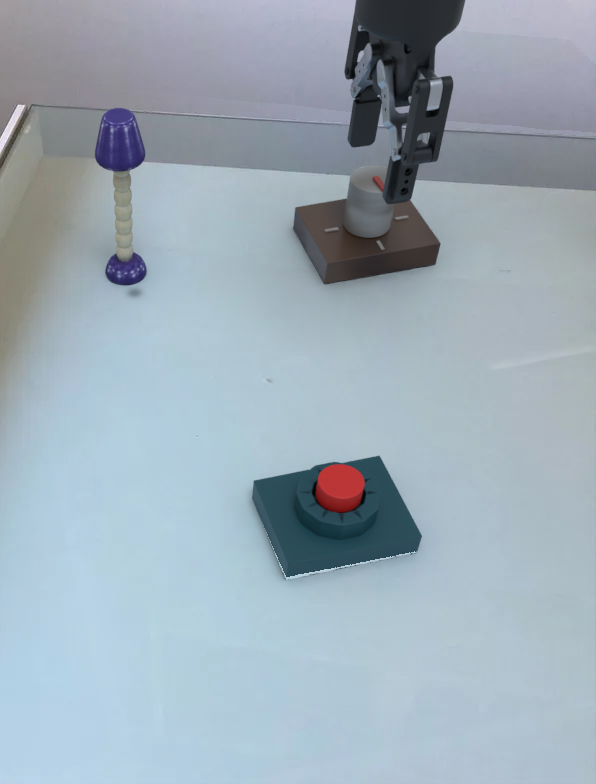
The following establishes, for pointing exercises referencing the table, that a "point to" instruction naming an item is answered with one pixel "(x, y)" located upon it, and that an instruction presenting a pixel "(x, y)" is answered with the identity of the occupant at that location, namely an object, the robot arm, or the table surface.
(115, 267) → the toy lamp
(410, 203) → the dimmer panel
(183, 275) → the table surface
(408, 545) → the switch block
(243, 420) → the table surface
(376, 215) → the dimmer knob
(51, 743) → the table surface
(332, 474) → the light button
